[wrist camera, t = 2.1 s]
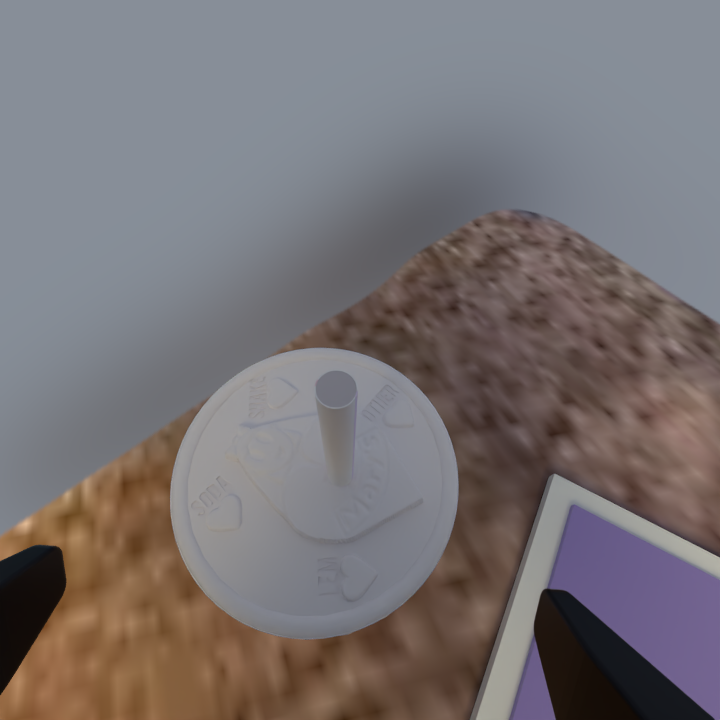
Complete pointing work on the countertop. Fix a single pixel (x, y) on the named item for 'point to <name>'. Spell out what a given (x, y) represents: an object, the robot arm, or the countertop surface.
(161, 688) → the countertop surface
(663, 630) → the ink pad
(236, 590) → the smoothie
